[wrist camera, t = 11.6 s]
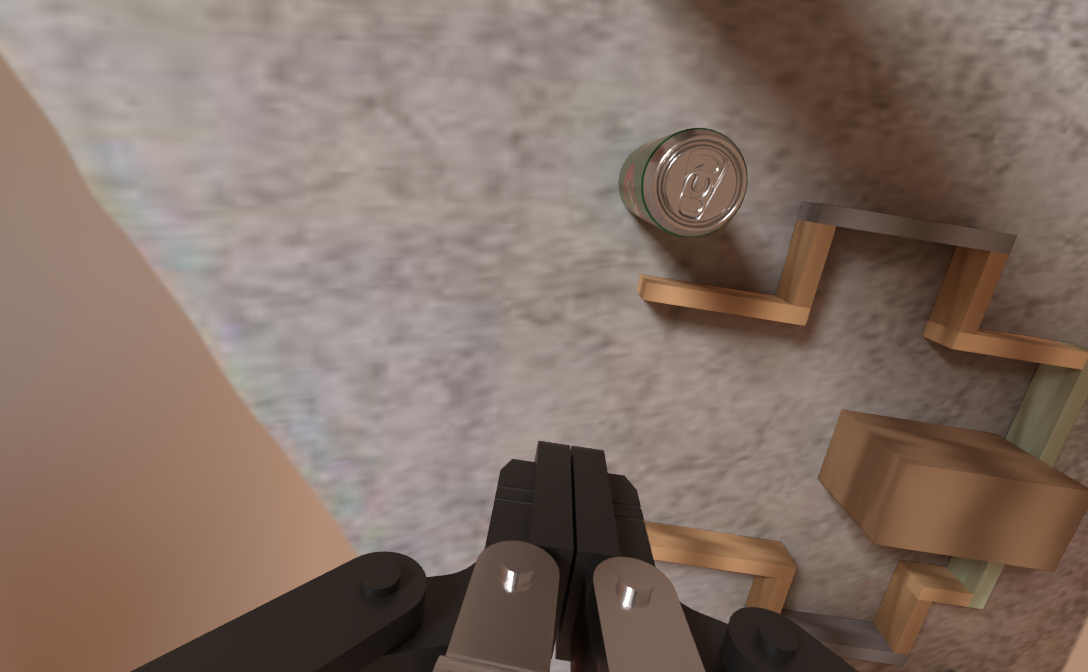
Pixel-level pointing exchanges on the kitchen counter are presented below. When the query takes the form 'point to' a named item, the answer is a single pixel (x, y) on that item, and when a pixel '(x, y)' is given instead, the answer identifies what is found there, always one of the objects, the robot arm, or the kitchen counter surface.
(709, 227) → the soda can
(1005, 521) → the walnut brick
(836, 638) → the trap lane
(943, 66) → the kitchen counter surface
